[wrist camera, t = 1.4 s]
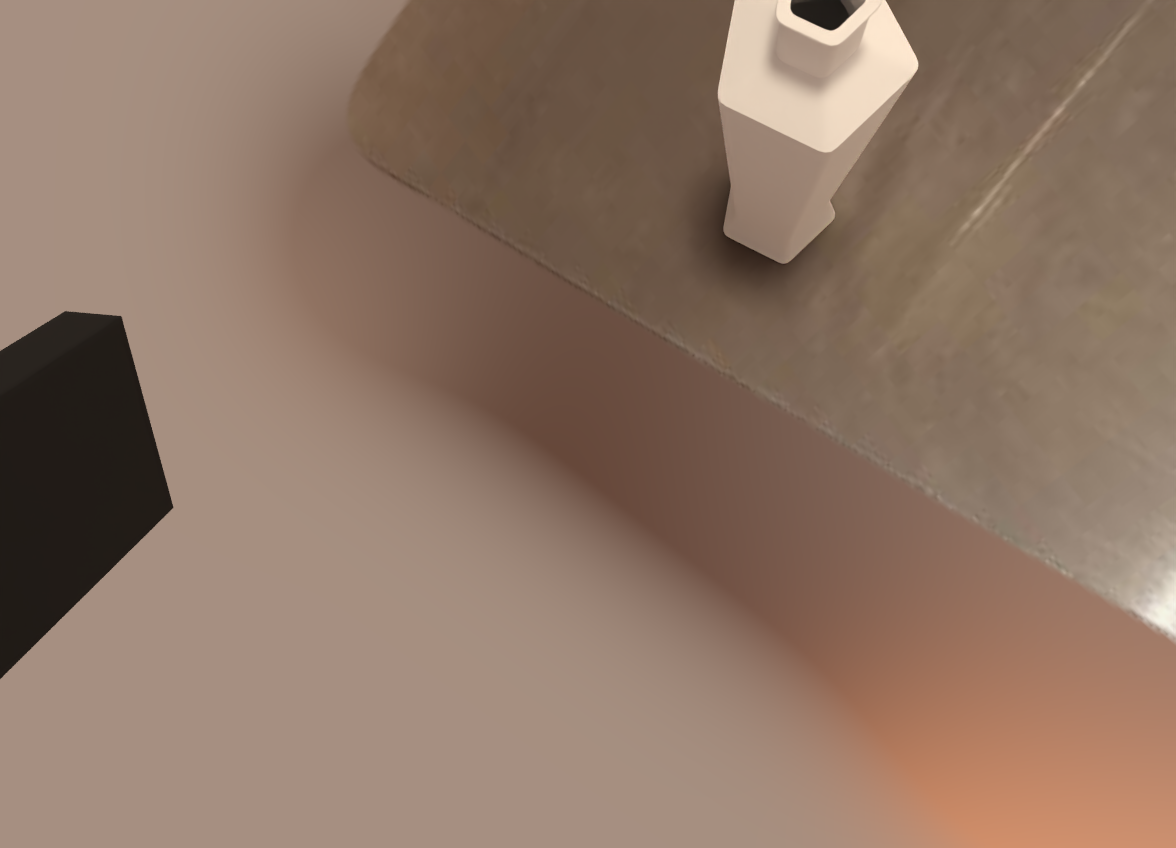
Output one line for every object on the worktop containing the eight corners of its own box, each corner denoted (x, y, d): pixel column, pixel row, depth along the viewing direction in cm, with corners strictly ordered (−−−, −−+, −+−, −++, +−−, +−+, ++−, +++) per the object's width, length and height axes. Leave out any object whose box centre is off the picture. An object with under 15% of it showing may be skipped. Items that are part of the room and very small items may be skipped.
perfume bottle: (834, 282, 35) (926, 117, 21) (708, 262, 36) (709, 87, 21) (856, 154, 36) (964, -100, 21) (731, 136, 36) (749, -124, 21)
